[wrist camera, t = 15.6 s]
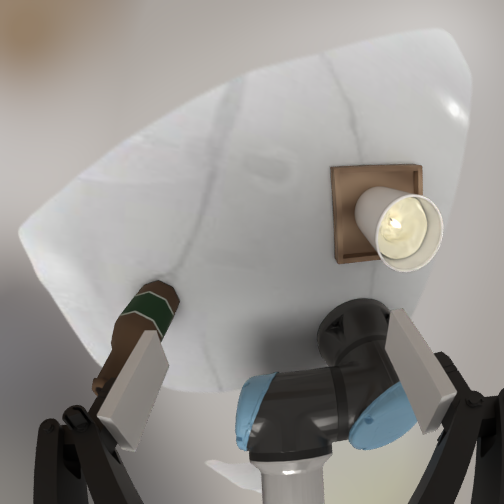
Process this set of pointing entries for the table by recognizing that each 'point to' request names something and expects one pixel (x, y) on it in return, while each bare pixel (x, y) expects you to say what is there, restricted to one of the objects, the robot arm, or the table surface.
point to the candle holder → (400, 227)
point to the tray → (347, 194)
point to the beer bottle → (138, 326)
